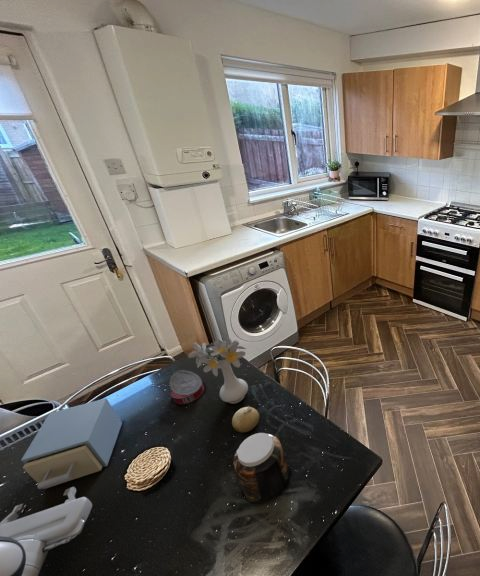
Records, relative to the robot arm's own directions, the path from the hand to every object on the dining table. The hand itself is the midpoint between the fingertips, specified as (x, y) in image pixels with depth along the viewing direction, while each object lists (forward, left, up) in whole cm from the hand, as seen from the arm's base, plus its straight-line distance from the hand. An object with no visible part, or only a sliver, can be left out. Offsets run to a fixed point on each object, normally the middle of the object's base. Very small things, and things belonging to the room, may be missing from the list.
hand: (47, 497), depth 76 cm
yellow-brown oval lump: (+45, +8, -7) cm, 46 cm away
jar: (+49, -13, -7) cm, 51 cm away
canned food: (+26, +31, -7) cm, 41 cm away
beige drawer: (0, +13, -6) cm, 14 cm away
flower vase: (+41, +22, -7) cm, 47 cm away
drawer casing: (0, +18, -7) cm, 19 cm away
